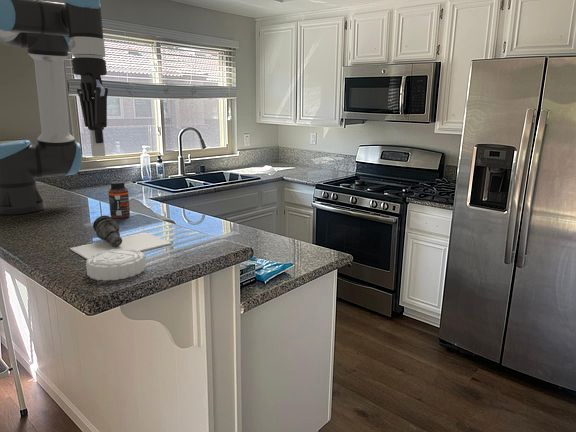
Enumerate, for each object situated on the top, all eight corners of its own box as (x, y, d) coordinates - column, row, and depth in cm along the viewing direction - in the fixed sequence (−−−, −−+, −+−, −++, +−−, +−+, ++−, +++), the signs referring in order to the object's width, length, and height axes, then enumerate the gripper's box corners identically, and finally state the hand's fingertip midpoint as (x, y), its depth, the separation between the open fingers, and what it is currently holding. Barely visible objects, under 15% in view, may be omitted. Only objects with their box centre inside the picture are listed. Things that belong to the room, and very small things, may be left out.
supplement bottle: (123, 219, 140) (120, 184, 137) (106, 218, 141) (103, 183, 138) (133, 215, 145) (130, 180, 143) (117, 214, 146) (114, 180, 144)
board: (70, 249, 110) (70, 248, 110) (145, 233, 124) (144, 232, 124) (93, 263, 100) (92, 261, 100) (171, 244, 114) (171, 242, 114)
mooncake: (74, 277, 93) (72, 261, 92) (114, 259, 104) (113, 244, 103) (120, 284, 89) (118, 268, 88) (157, 265, 100) (156, 250, 99)
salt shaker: (90, 217, 114) (104, 237, 106) (113, 212, 118) (129, 231, 109) (93, 237, 117) (108, 258, 109) (116, 231, 120) (132, 251, 112)
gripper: (62, 58, 109) (73, 155, 114) (83, 54, 100) (94, 159, 105) (93, 60, 114) (102, 153, 119) (115, 57, 105) (124, 157, 110)
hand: (98, 156), depth 112 cm, fingers closed
